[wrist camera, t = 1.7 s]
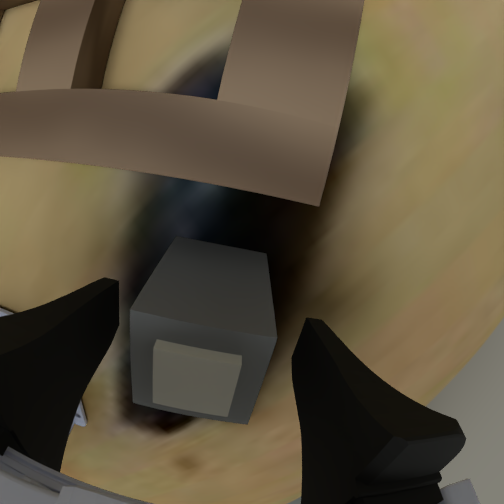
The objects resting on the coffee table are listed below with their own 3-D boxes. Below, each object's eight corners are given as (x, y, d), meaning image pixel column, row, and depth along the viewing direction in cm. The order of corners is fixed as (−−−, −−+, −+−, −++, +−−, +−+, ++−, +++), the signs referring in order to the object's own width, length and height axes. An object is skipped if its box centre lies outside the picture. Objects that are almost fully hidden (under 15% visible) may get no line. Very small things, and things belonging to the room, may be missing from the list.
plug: (248, 327, 15) (247, 433, 9) (168, 312, 15) (130, 410, 9) (266, 253, 14) (278, 347, 8) (176, 236, 13) (124, 317, 7)
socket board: (306, 192, 13) (320, 208, 10) (-55, 146, 11) (-85, 154, 8) (353, -30, 9) (374, -57, 6) (-19, -12, 7) (-45, -20, 4)
